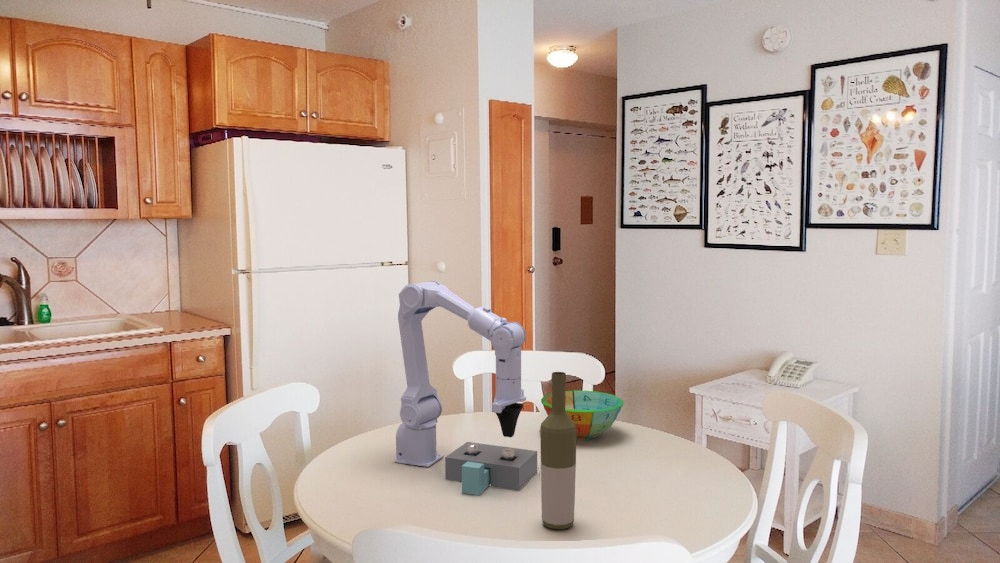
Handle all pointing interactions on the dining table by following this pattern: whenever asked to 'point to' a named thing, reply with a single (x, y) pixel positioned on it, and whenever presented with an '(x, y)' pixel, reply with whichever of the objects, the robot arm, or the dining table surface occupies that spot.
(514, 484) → the housing
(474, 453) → the plunger left
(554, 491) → the bottle
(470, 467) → the cartridge
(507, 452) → the plunger right
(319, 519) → the dining table surface
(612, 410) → the bowl
